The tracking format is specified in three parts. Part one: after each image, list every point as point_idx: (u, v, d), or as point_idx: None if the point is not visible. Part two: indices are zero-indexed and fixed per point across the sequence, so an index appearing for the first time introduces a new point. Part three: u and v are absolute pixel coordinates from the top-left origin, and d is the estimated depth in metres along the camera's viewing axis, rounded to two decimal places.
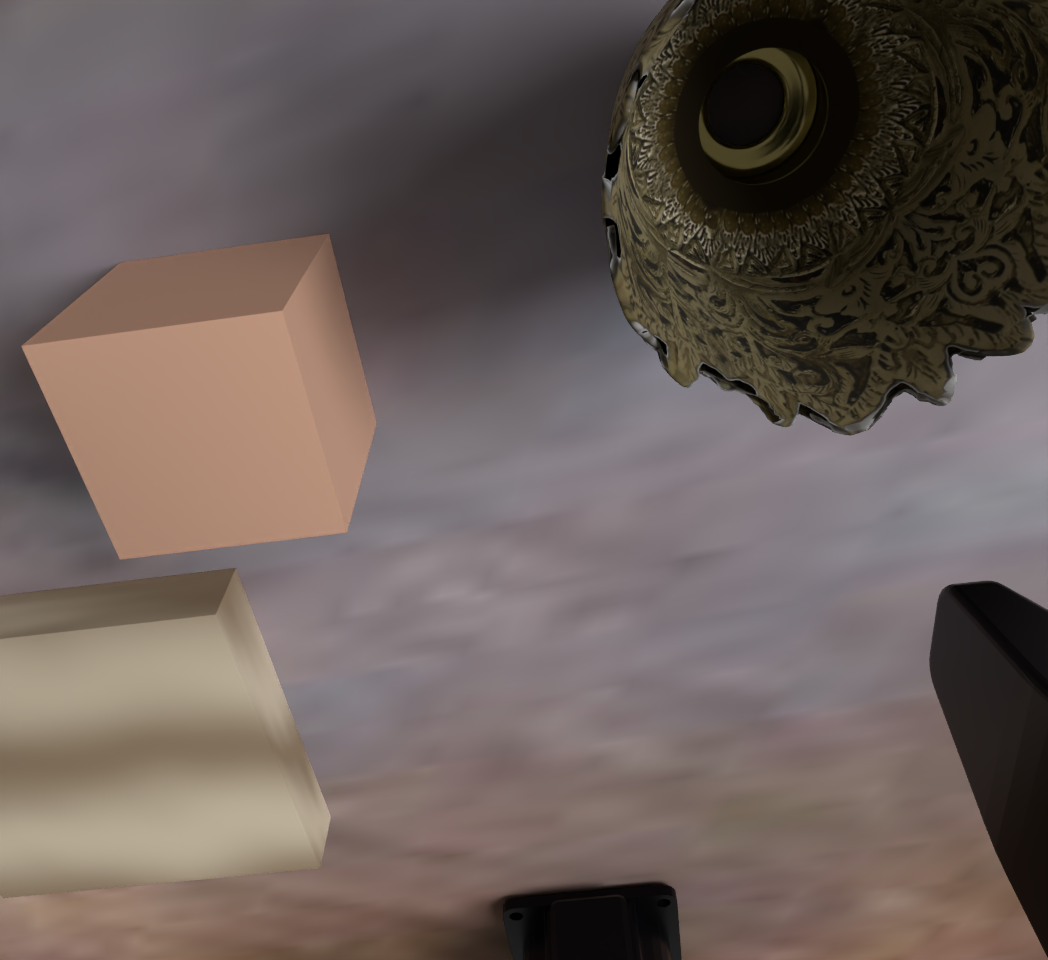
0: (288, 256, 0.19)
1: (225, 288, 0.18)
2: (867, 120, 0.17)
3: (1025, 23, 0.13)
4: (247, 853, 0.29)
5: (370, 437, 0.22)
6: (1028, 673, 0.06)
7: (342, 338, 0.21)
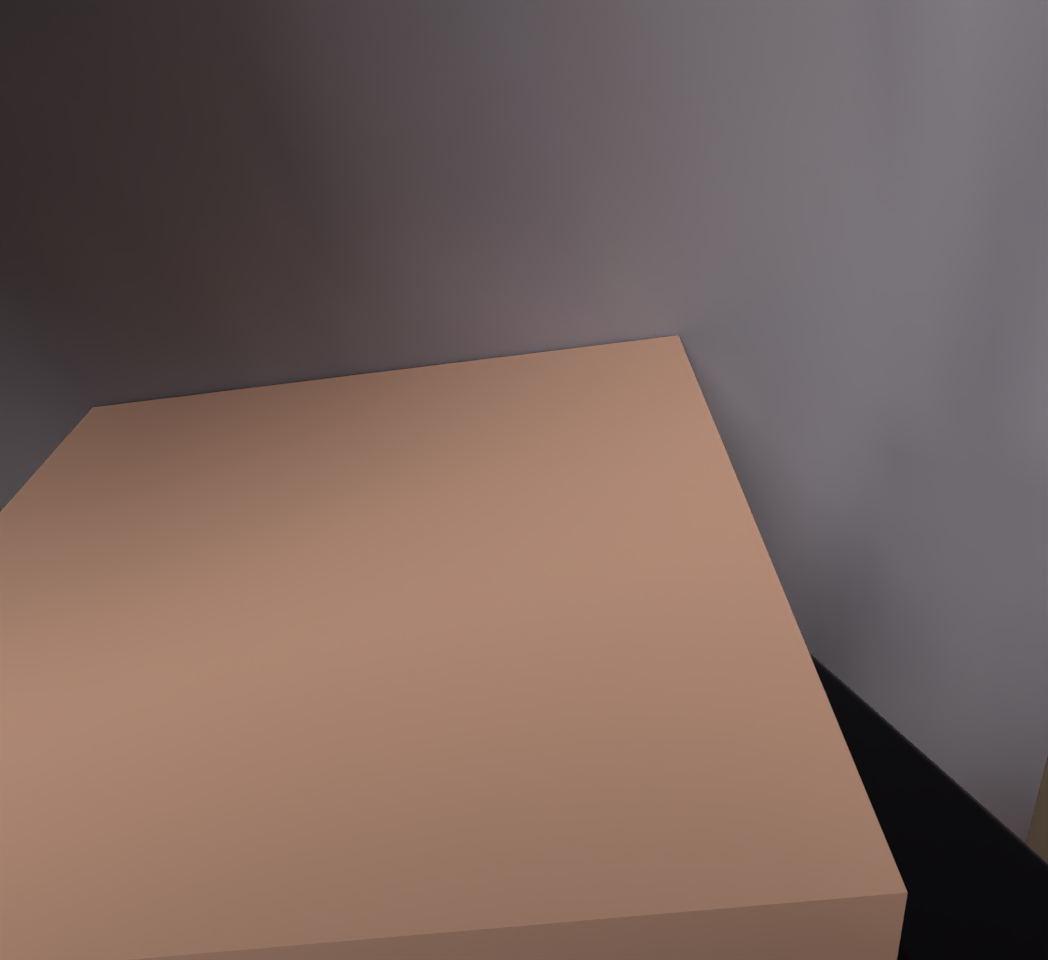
0: None
1: None
2: None
3: None
4: None
5: (684, 392, 0.06)
6: None
7: (301, 454, 0.06)
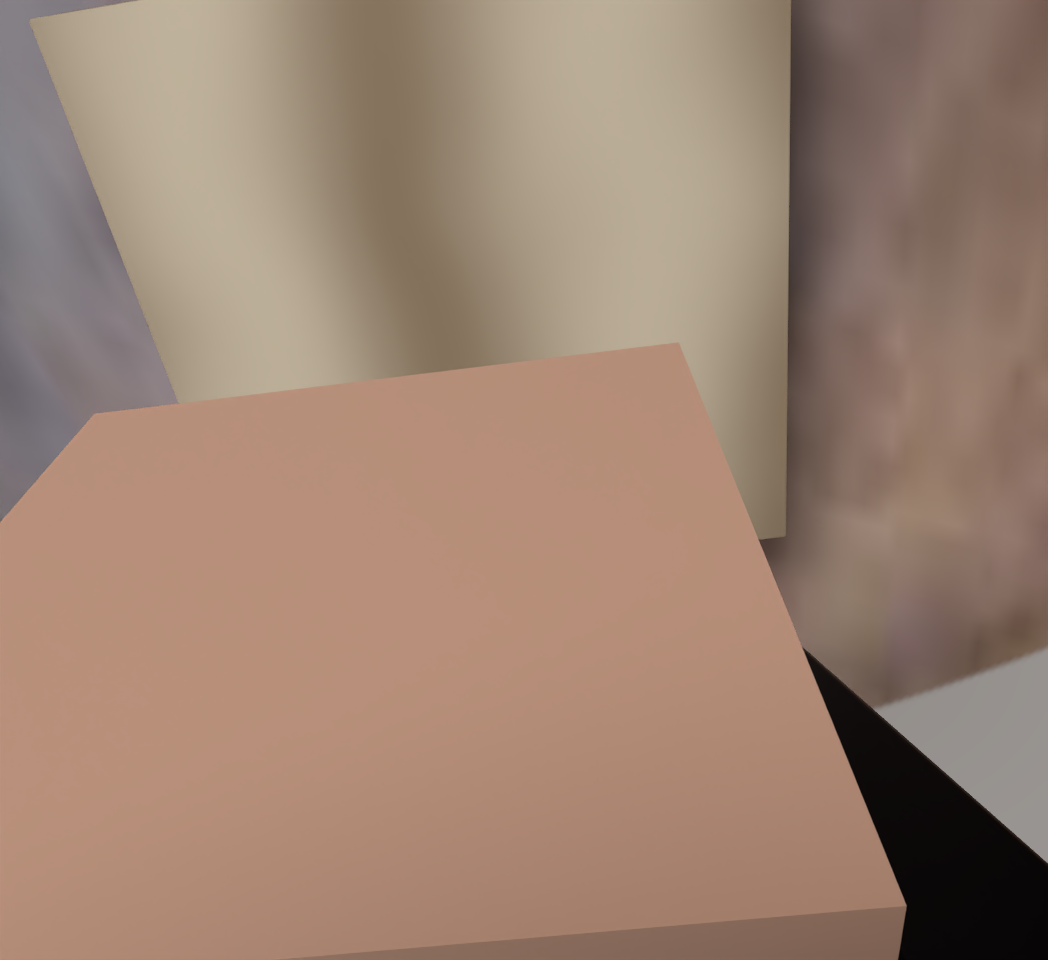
0: None
1: None
2: None
3: None
4: (715, 70, 0.13)
5: (684, 400, 0.07)
6: None
7: (302, 462, 0.06)
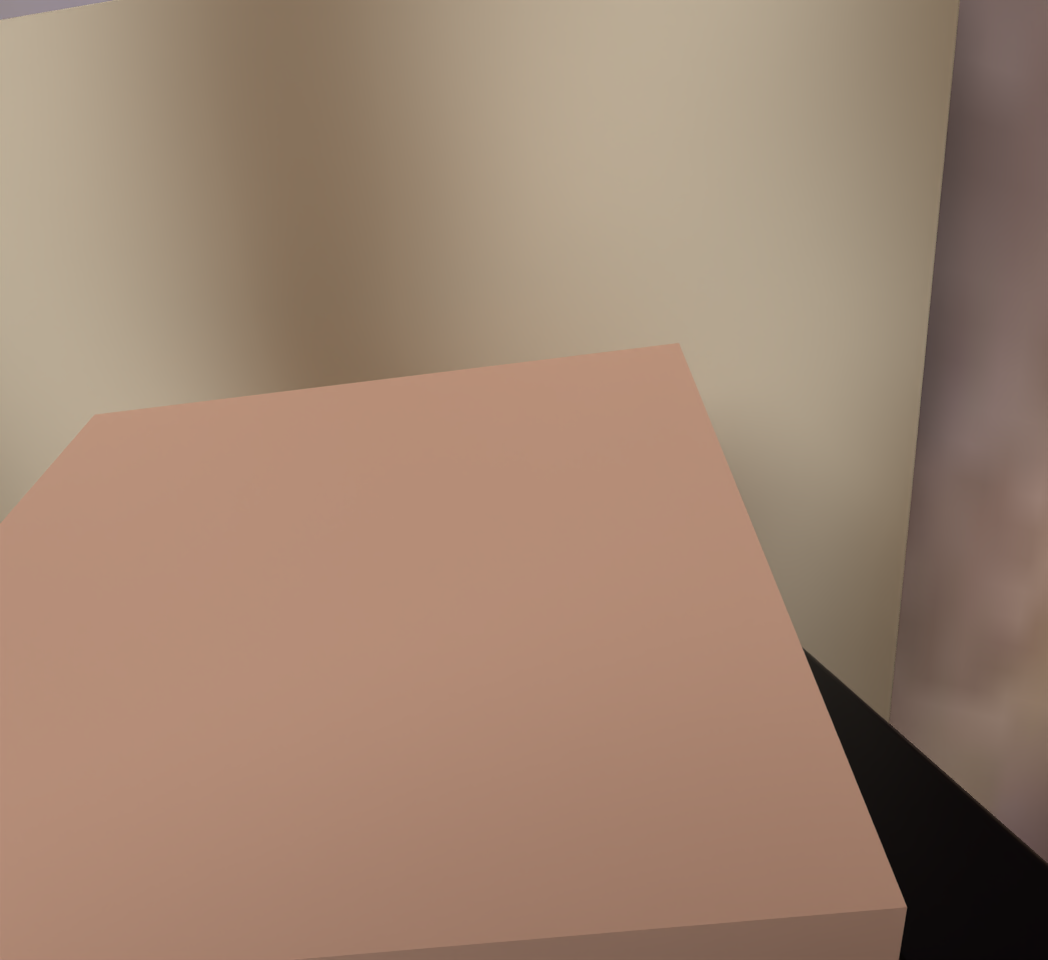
0: None
1: None
2: None
3: None
4: (827, 146, 0.09)
5: (685, 400, 0.07)
6: None
7: (303, 463, 0.06)
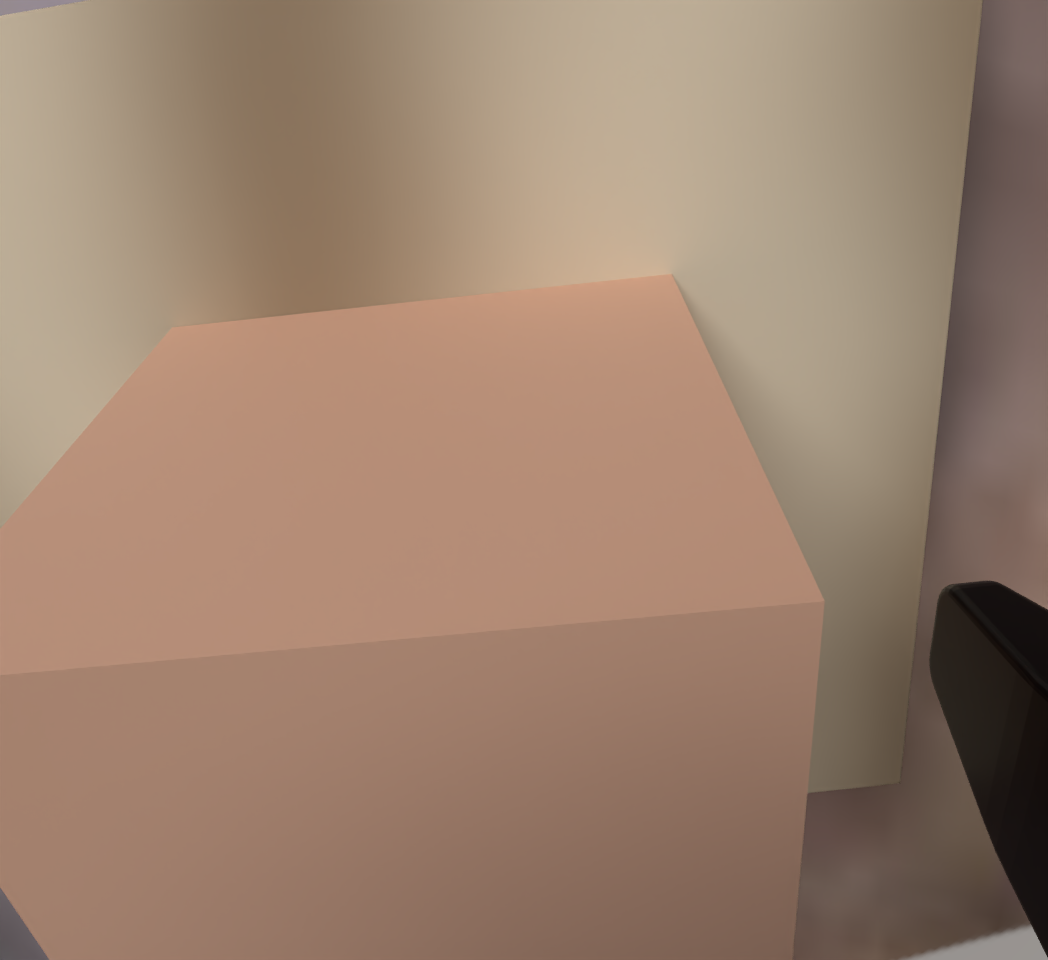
0: None
1: None
2: None
3: None
4: (843, 148, 0.08)
5: (676, 314, 0.08)
6: (1028, 674, 0.06)
7: (359, 358, 0.08)
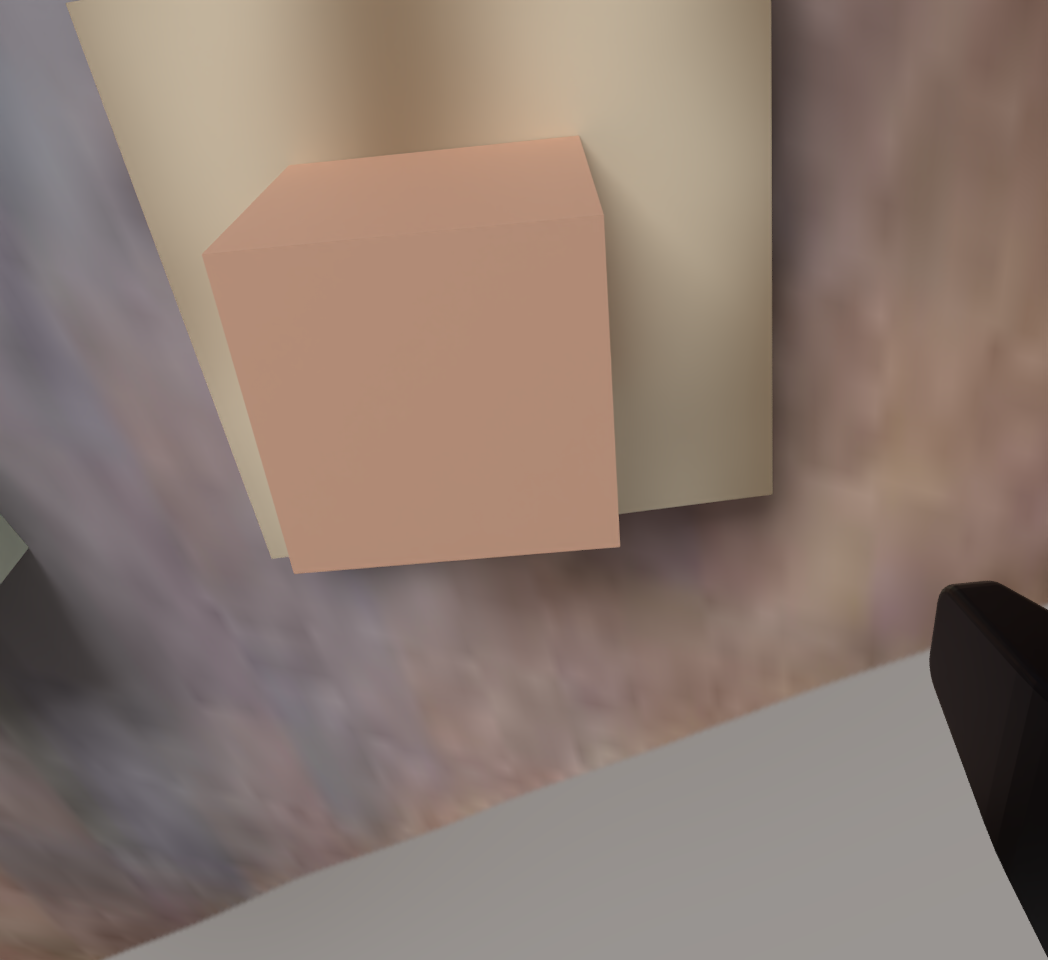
0: None
1: None
2: None
3: None
4: (702, 48, 0.14)
5: (575, 149, 0.14)
6: (1028, 673, 0.06)
7: (401, 169, 0.14)
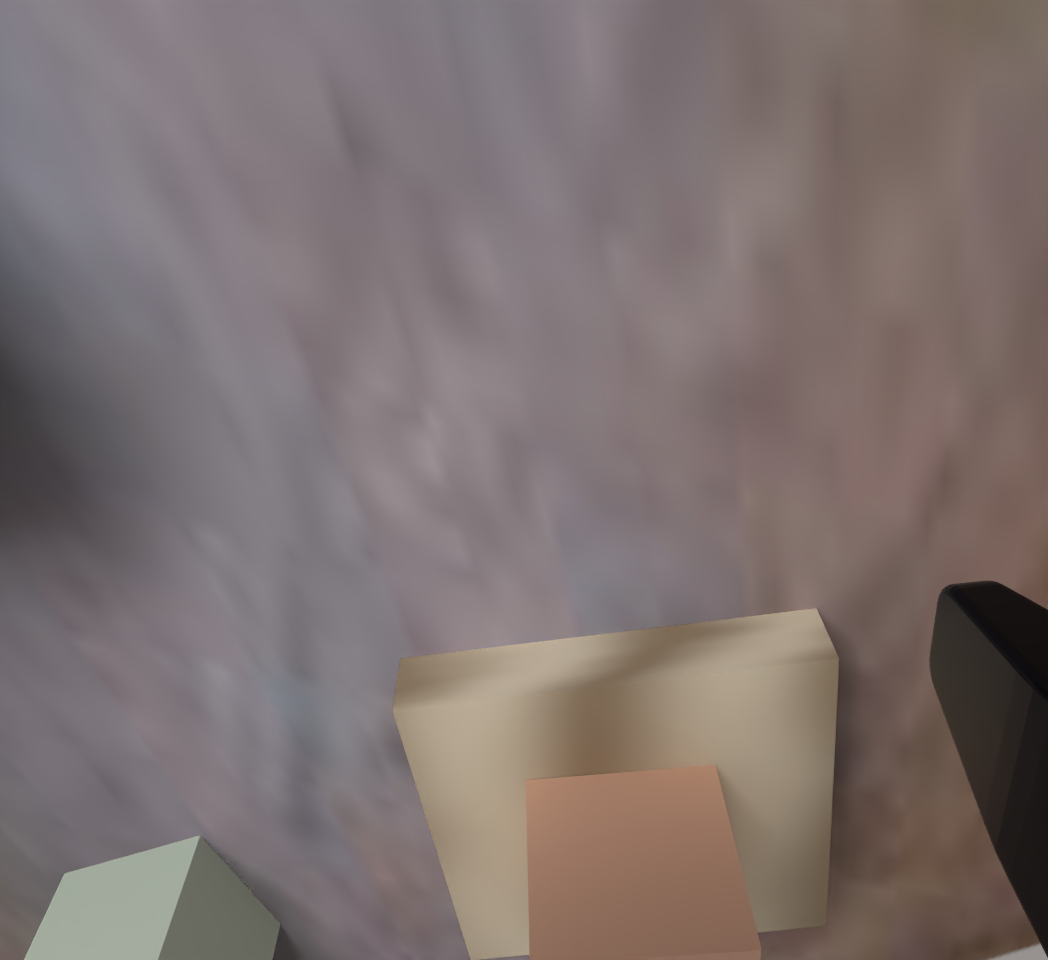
0: None
1: None
2: None
3: None
4: (791, 726, 0.23)
5: (718, 797, 0.23)
6: (1028, 673, 0.06)
7: (609, 815, 0.22)
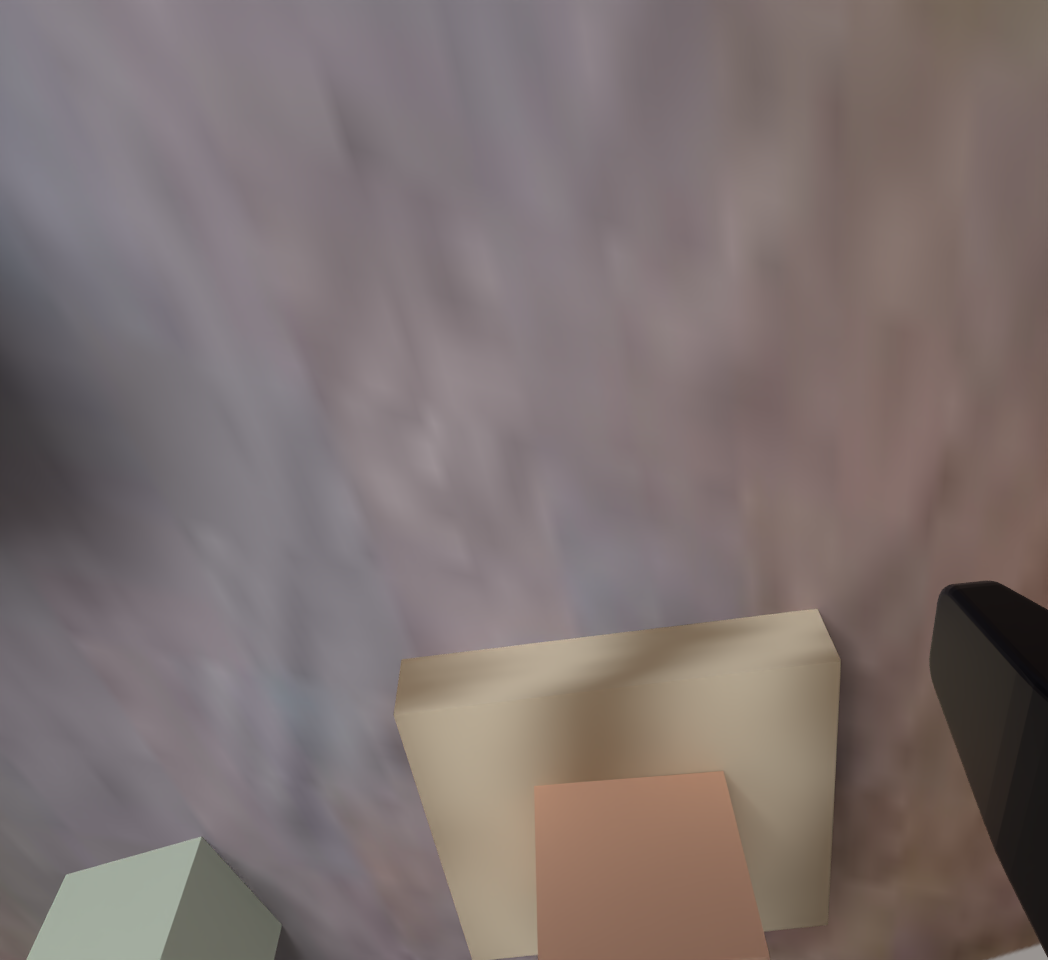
0: None
1: None
2: None
3: None
4: (793, 728, 0.23)
5: (726, 803, 0.23)
6: (1028, 673, 0.06)
7: (617, 821, 0.22)
